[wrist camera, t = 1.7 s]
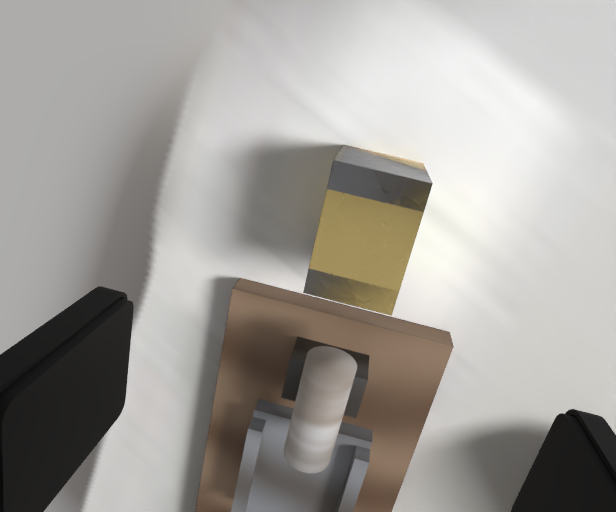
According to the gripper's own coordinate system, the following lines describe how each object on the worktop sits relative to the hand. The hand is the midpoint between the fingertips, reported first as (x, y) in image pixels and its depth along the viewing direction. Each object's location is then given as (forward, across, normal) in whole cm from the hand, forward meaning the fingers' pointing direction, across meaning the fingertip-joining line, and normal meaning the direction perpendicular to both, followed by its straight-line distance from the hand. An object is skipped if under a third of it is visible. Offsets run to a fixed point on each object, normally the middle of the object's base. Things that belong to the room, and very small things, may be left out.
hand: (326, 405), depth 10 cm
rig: (+16, 0, +15) cm, 22 cm away
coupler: (+16, 0, -1) cm, 16 cm away
